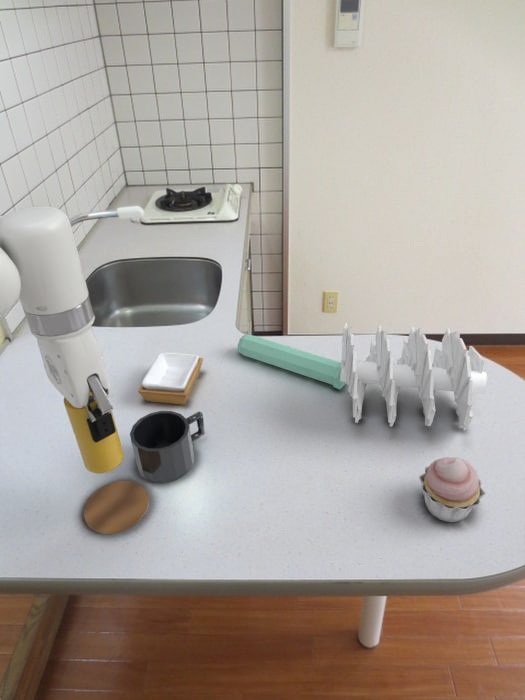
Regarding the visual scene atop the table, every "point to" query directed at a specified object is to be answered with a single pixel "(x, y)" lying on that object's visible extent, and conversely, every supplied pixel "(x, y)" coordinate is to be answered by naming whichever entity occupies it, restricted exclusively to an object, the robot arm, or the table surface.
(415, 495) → the table surface
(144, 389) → the soap dish
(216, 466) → the table surface
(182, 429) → the mug
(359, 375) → the spiral staircase
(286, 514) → the table surface
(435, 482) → the cupcake
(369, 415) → the table surface
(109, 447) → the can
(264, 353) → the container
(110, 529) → the coaster
